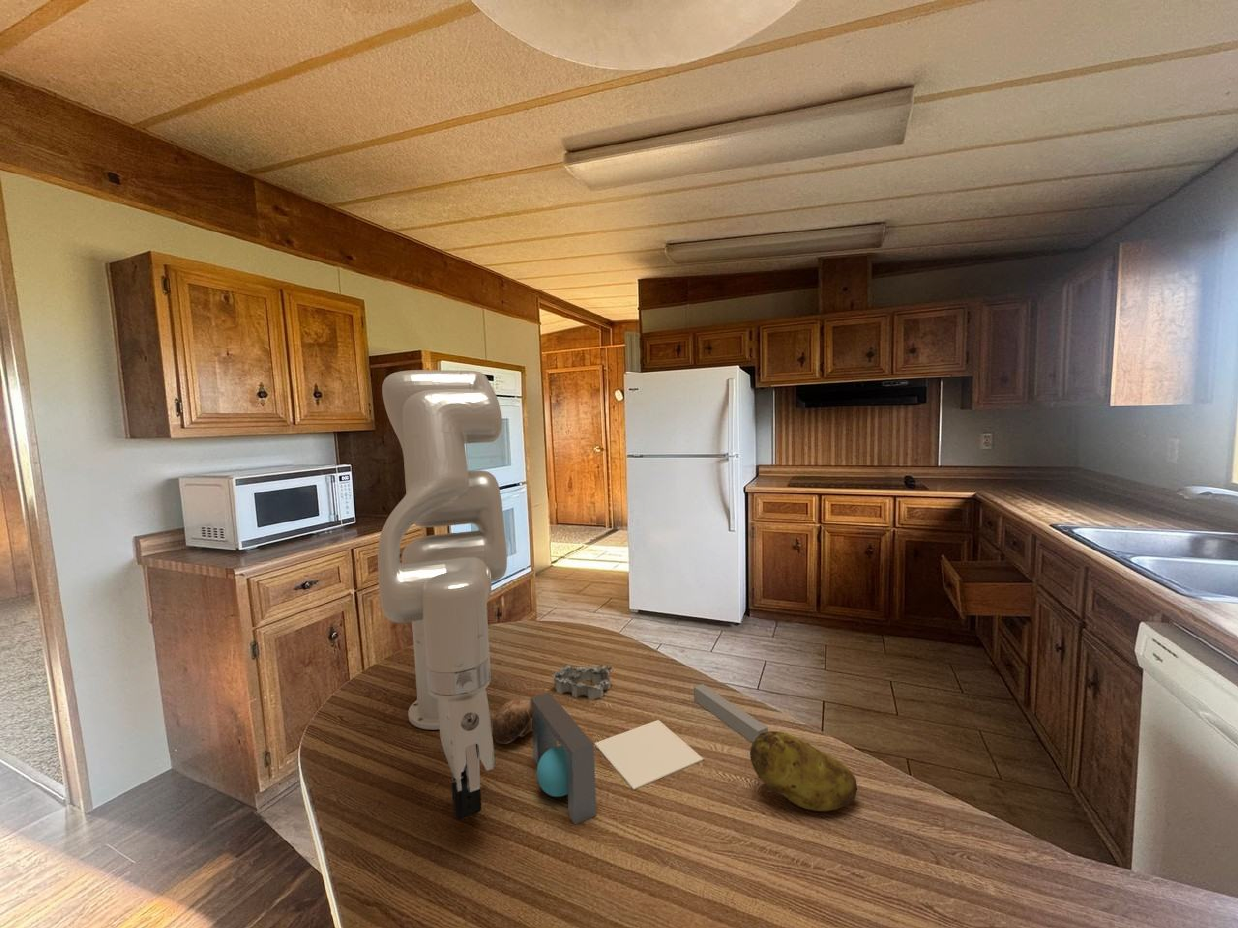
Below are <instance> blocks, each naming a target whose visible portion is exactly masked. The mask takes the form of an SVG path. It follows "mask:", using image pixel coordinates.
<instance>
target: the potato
mask: <svg viewBox="0 0 1238 928" xmlns="http://www.w3.org/2000/svg"><path fill="white" fill-rule="evenodd" d="M749 757H750V761H751V764H752V768H753V769H754V772H755V773H756V775H757V776H758V778H759V779H760V780H762V781H763V783H764V784H765V785H766V786H767V787H768V788H769V789H771V790H772V791H773V792H775V793H777V794H779V795H781V796H784V797H785V798H787V799H788V801H790V802H792V804H795V805H796V806H797V807H800V808H803V809H806V810H810V811H815V812H830V811H831V812H832V811H835V810H838V809H841V808H843V807H847V806H848V805H850V804H851V803H852V802H853V801H854V800H855V798H856V796H857V791H858V787H857V786H858V785H857V780H856V777H855V775H854V773H853V772H852V770H850V768H849V767H847V766H846V765H845V764H844V763H842V762H840V761H839V760H838V759H836V758H835V757H833V756H831V755H830V754H827V753H825V752H823V751H821V750H820V749H818V748H816V747H815V746H813V745H811V744H810V743H809V742H805V741H803V740H801V739H799V738H797V737H795V735H794V736H793V735H791V734H789V733H788V732H783V731H777V730H776V731H773V730H771V731H768V732H766V733H761V734H760V735H759V736H758V737H757V738H756V739H755V741H754V742H753V743H752V744H751V747H750V750H749Z"/></svg>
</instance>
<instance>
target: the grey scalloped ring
mask: <svg viewBox="0 0 1238 928" xmlns="http://www.w3.org/2000/svg"><path fill="white" fill-rule="evenodd" d="M612 670H613V668H612V667H611V666H608V665H598V666H597V667H596V666H595V667H594V666H591V667H585V666H578V667H576V666H574V667H572V665H567V664H565V667H564V666H562V667H561V669H559V670H557V671H555V673H553V674H551V677H553V679H554V690H556V693H557V694H558V695H559V694H560V695H562V694H563V693H571V696H572V697H575V698H578V697H579V696H586V697H587V698H588V700H590V701H594V700H596V699H602V698H603V697H604V690H605V691H606V690H609V689H611V676H610V674H611V673H612ZM586 681H591V683H592V684H594V685H593V686H591V685H588V684H587V683H583V682H586Z"/></svg>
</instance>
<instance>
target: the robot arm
mask: <svg viewBox="0 0 1238 928" xmlns="http://www.w3.org/2000/svg"><path fill="white" fill-rule="evenodd" d="M381 388H382V390H381V391H382V400H383V404H384V408H385V411H386V414H387V417H388V419H389V423H390V424H391V426H392V428H393V431H394V433H395V434H396V436H397V439H398V441H399V444H400V446H401V450H402V455H403V463H404V467H403V468H404V478H405V490H406V494H405V495H404V497H403V498H402V499H401V500H400V501H399V502H398V504H397V505H396V506H395V507H394V509H393V510H392V511H391V512H390V514H389V516H388V517H387V519H386V521H385V522H384V524H383V527H382V531H381V533H380V535H379V540H378V547H377V569H378V590H379V592H378V593H379V594H378V595H379V602H380V607H381V610H382V613H383V615H384V616H385V618H387V620H389V621H391V622H393V623H397V624H404V623H411V627H412V628H411V631H412V641H413V642H412V643H413V656H414V657H413V658H414V669H415V671H414V673H415V674H414V675H415V686H416V689H415V690H416V699H415V701H414V702H413V703H412V704H411V705H410V706H409V708H408V712H407V713H408V720H409V722H410V724H411V725H413V726H414V727H416V728H419V729H421V730H422V729H423V730H433V731H434V730H439V737H440V740H441V741H440V742H441V746H442V750H443V752H444V755H445V759H446V761H447V763H448V767H449V769H450V771H451V772H450V773H451V778H452V783H451V795H452V796H451V798H452V812H453V814H454V817H455V819H456V820H457V821H459V820H462V819H465V818H467V817H470V816H473V815H475V814H478V813H480V812H481V811H482V794H481V793H482V792H481V779H480V778H481V775H480V771H481V770H480V762H481V764H482V765H483V766H484V767H483V768H484V769H485V770H486V771H487V772H488V771H492V770H494V768H495V767H496V759H495V749H494V740H493V739H494V738H493V727H492V722H491V719H492V718H491V714H490V705H489V700H488V694H487V688H488V686H489V685H490V684H491V680H492V676H491V675H492V674H491V659H490V657H491V656H490V645H489V643H490V641H489V625H488V606H487V603H488V598H489V597H490V596H491V593H492V586H493V583H494V582H497V581H499V580H501V579H503V577H504V576H505V574H506V571H507V569H508V568H507V567H508V555H507V544H506V543H507V542H506V535H505V534H506V533H505V523H504V512H503V504H502V503H503V502H502V495H501V489H500V486H499V483H498V480H497V479H496V477H495V475H494V474H492V473H491V472H489V471H486V470H469V469H468V461H467V454H466V445H465V444H483V443H484V444H485V443H493V442H495V441H496V440H498V438H499V437H500V435H501V432H502V429H503V419H502V418H503V417H502V409H501V405H500V402H499V400H498V396H497V394H496V392H495V390H494V388H493V386H492V384H491V382H490V381H489V379H488V377H487V376H486V375H485V373H483V372H480V371H478V370H440V369H435V370H434V369H414V370H413V369H411V370H403V371H397V372H394V373H391V374H388V375H387V376H386V377H385V378H384V380H383V383H382V387H381ZM467 524H468V525H469V524H470V525H471V524H472V525H475V526H476V527H477V529H478V530H471V531H461V532H460V531H459V532H450V533H449V532H447V533H439V534H433V535H426V536H422V537H419V538H416V539H414V540H412V541H410V542H409V543H408V544H407V545H406V546H405V547H404V549H403V552H402V557H400V555H401V554H400V551H401V544H402V540H403V538H404V536H405V534H406V532H407V531H408V530H409V529H410V528H411V527H412V526H414V525H416V526H418V527H420V528H421V527H422V528H437V527H440V528H441V527H449V526H458V525H467ZM400 558H401V559H400Z"/></svg>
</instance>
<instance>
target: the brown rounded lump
mask: <svg viewBox="0 0 1238 928" xmlns="http://www.w3.org/2000/svg"><path fill="white" fill-rule="evenodd" d="M492 722H493V723H492V733H493V736H494V739H495V741H496V742H497V743H498V744H503V745H507V744H509V743H512V742H514V741H515V740H516V739H517V738H518V737H521V738H522V737H525V736H526V735H527V734H529V733H530V732H532V716H531V699H528V698H521V697H519V698H512V699H511V700H509V701H506V702H505V703H504V704H503V705H502V706H501V707H500V708H499V709H498V711H497V712H496V714H495V716H494V719H493V721H492Z"/></svg>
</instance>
